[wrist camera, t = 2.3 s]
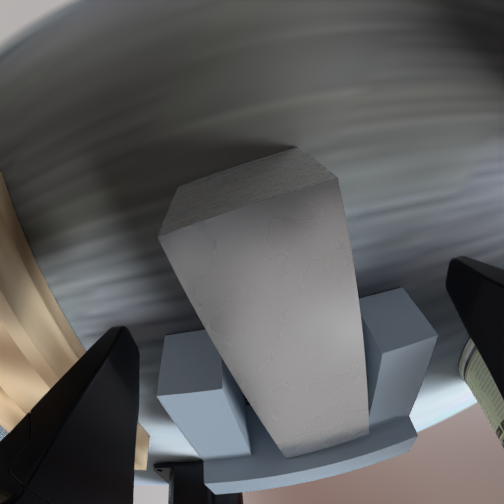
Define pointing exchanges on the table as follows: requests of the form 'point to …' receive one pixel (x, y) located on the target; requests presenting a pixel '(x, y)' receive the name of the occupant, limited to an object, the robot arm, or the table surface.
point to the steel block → (277, 293)
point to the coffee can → (483, 387)
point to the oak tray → (33, 330)
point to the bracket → (254, 432)
